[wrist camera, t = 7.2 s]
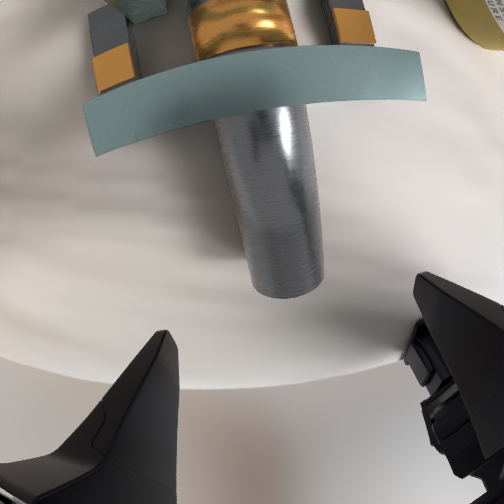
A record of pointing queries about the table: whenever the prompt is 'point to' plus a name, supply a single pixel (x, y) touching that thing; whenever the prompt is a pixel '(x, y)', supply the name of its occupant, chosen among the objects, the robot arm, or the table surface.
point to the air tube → (265, 153)
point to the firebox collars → (236, 75)
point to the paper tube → (481, 21)
